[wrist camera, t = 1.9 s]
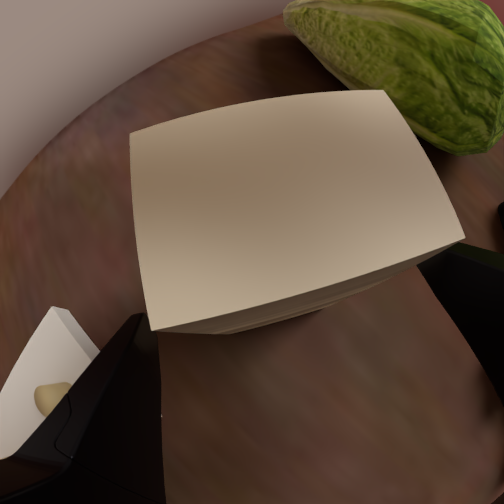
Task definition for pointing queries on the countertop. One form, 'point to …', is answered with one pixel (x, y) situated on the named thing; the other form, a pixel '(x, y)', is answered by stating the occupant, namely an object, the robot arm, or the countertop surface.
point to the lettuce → (416, 61)
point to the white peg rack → (42, 377)
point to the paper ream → (280, 208)
